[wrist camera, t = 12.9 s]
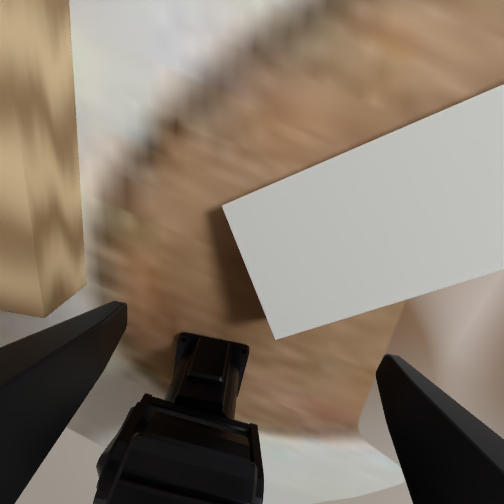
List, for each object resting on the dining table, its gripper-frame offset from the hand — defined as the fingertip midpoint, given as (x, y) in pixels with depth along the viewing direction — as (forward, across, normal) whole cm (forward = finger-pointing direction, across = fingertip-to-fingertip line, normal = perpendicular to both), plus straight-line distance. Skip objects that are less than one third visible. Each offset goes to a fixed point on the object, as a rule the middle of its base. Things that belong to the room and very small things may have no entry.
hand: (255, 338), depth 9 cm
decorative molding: (+13, -14, -7) cm, 20 cm away
